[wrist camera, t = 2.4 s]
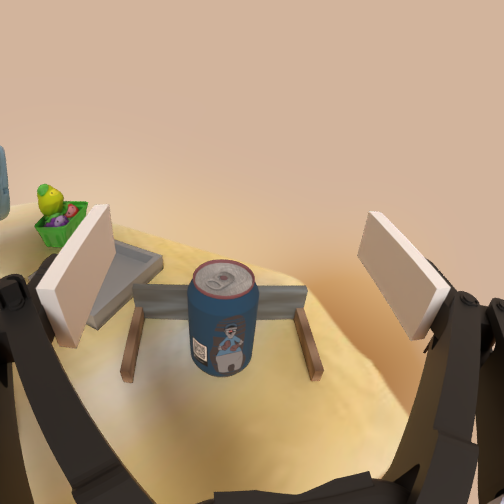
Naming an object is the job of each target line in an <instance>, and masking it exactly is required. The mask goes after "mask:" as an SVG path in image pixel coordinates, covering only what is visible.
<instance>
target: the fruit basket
mask: <svg viewBox="0 0 504 504" xmlns="http://www.w3.org/2000/svg"><path fill="white" fill-rule="evenodd" d="M37 197H38V205H39V209H40V211H41V212H42V214H44V216H43V217H42V218H41V219H40V220H39V221H38V222H37V223H36V224H35V226H34V227H35V228H36V230H37V231H38V232H39V234H40V236H41V237H42V239H43V241H44V243H45V244H46V246H47V247H50V246H52V247H64V245H65V244H66V242H67V241H68V240H69V238H70V237H71V236H72V234H73V233H74V231H75V230H76V229H77V227H78V226H79V225H80V223H81V222H82V221H83V220H84V218H85V217H86V209H87V205H88V202H84V201H83V202H81V201H80V202H77V201H63V199H64V197H63V195H62V193H61V192H60V191H58V190H57V189H55V188H53V187H52V186H50V185H47V184H43V185H40V186H39V188H38V190H37Z"/></svg>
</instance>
